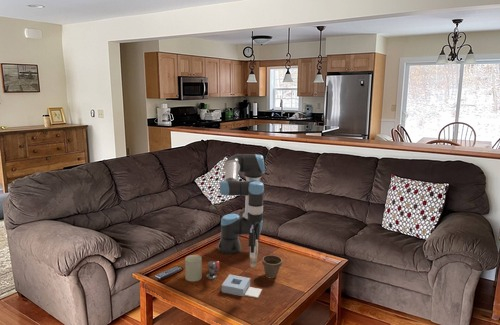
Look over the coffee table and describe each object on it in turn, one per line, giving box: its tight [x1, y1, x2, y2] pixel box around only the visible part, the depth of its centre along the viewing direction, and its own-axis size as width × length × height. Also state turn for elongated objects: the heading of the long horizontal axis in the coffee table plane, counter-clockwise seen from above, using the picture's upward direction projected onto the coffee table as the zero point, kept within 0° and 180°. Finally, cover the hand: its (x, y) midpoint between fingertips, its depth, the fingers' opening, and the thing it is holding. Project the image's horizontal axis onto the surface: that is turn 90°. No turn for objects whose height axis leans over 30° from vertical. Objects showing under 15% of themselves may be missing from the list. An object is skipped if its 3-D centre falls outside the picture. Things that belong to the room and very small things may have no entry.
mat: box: [244, 286, 263, 299], centre depth 196 cm, size 8×7×1 cm
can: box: [184, 254, 203, 282], centre depth 208 cm, size 9×9×12 cm
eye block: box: [221, 273, 251, 297], centre depth 199 cm, size 12×12×4 cm
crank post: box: [205, 267, 218, 280], centre depth 210 cm, size 6×6×6 cm
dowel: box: [249, 239, 259, 268], centre depth 191 cm, size 4×4×14 cm
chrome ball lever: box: [207, 260, 220, 272], centre depth 206 cm, size 4×10×6 cm, turn 31°
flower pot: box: [261, 254, 283, 279], centre depth 213 cm, size 12×11×10 cm
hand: (253, 256), depth 191 cm, fingers closed on dowel, 3 cm apart
